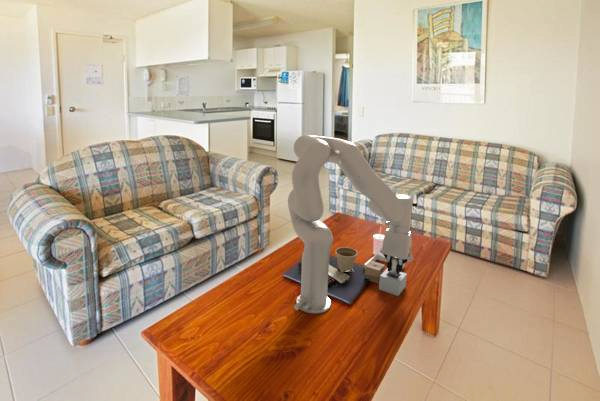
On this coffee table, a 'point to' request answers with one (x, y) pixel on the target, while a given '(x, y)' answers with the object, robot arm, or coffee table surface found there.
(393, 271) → the pin
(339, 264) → the flower pot
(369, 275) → the walnut block
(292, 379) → the coffee table surface
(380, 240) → the beverage cup
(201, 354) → the coffee table surface
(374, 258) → the u-shaped frame
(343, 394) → the coffee table surface
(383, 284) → the bore block
